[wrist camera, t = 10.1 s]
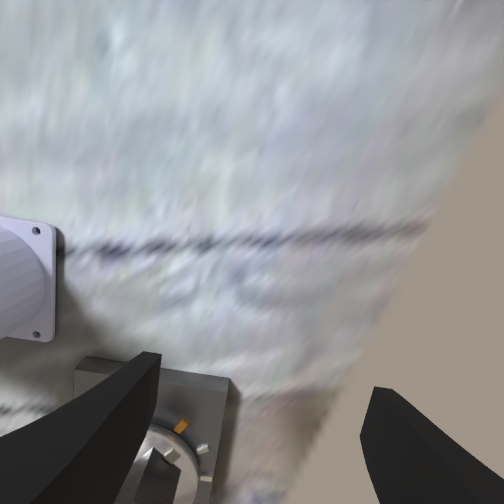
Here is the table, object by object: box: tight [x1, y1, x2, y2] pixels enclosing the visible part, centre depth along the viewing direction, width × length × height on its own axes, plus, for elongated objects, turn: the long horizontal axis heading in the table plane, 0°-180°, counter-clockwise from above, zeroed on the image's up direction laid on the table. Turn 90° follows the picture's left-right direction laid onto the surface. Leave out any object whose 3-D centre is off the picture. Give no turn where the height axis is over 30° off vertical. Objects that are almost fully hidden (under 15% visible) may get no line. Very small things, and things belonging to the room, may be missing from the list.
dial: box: [114, 424, 199, 504], centre depth 20 cm, size 8×8×4 cm
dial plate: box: [73, 357, 229, 504], centre depth 23 cm, size 10×14×2 cm
